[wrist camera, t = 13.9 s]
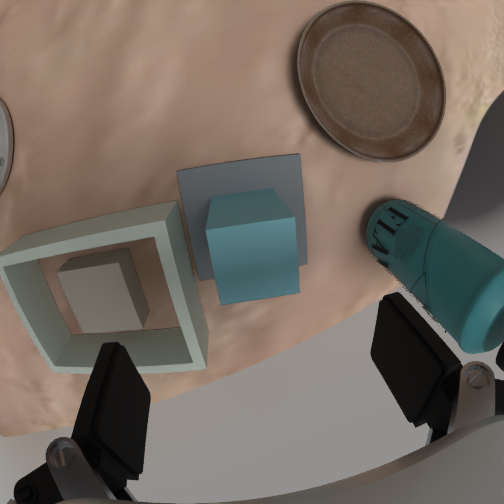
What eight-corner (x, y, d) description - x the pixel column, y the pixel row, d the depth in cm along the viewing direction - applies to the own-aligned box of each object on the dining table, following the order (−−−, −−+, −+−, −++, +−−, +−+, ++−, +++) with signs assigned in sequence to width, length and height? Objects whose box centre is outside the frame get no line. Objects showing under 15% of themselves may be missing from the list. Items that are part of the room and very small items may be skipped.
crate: (22, 236, 23) (-7, 258, 18) (177, 200, 24) (164, 220, 18) (69, 341, 29) (52, 372, 24) (208, 331, 29) (206, 369, 24)
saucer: (450, 114, 22) (467, 116, 20) (352, 189, 25) (365, 196, 22) (375, -7, 16) (388, -16, 14) (253, 52, 19) (257, 43, 17)
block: (211, 197, 23) (205, 230, 16) (272, 188, 23) (295, 217, 16) (221, 252, 25) (220, 305, 18) (278, 244, 25) (299, 292, 18)
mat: (177, 170, 22) (176, 171, 22) (298, 153, 23) (300, 154, 22) (199, 277, 27) (199, 280, 26) (305, 261, 27) (307, 264, 26)
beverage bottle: (370, 183, 24) (558, 297, 6) (420, 205, 26) (576, 308, 7) (346, 247, 27) (479, 412, 9) (396, 261, 28) (521, 394, 10)
